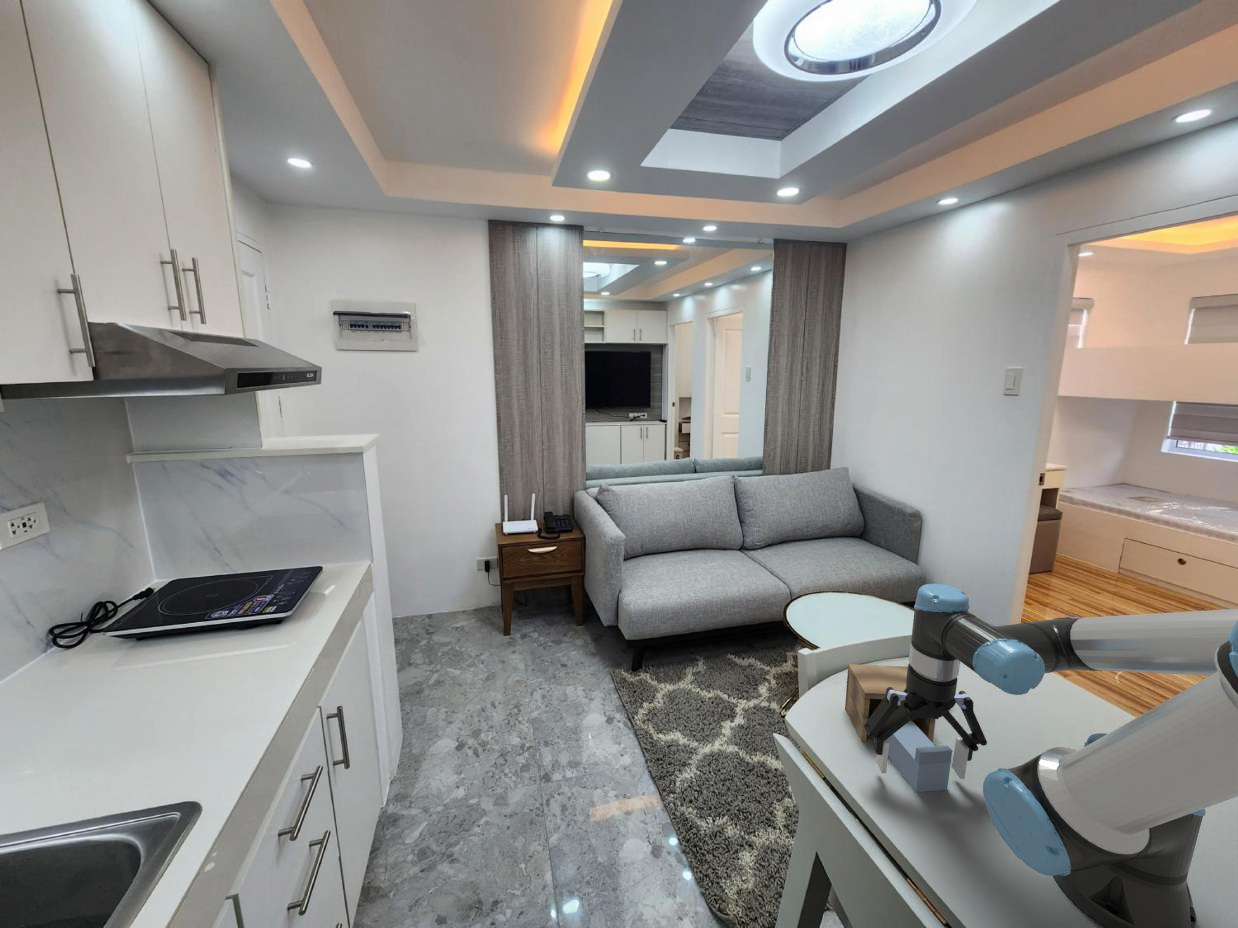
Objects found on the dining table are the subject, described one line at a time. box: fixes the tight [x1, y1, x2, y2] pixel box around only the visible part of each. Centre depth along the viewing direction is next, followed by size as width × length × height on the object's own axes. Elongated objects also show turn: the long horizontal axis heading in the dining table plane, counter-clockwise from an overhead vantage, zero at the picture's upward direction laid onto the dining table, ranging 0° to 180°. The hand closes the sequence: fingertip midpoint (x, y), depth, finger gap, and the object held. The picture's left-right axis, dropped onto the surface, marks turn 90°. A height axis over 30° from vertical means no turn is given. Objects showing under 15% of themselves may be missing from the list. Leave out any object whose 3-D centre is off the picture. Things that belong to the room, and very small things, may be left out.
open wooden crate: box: [844, 663, 937, 744], centre depth 106 cm, size 10×14×11 cm
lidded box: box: [887, 721, 953, 793], centre depth 97 cm, size 14×6×8 cm, turn 4°
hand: (919, 770), depth 92 cm, fingers open, 13 cm apart
